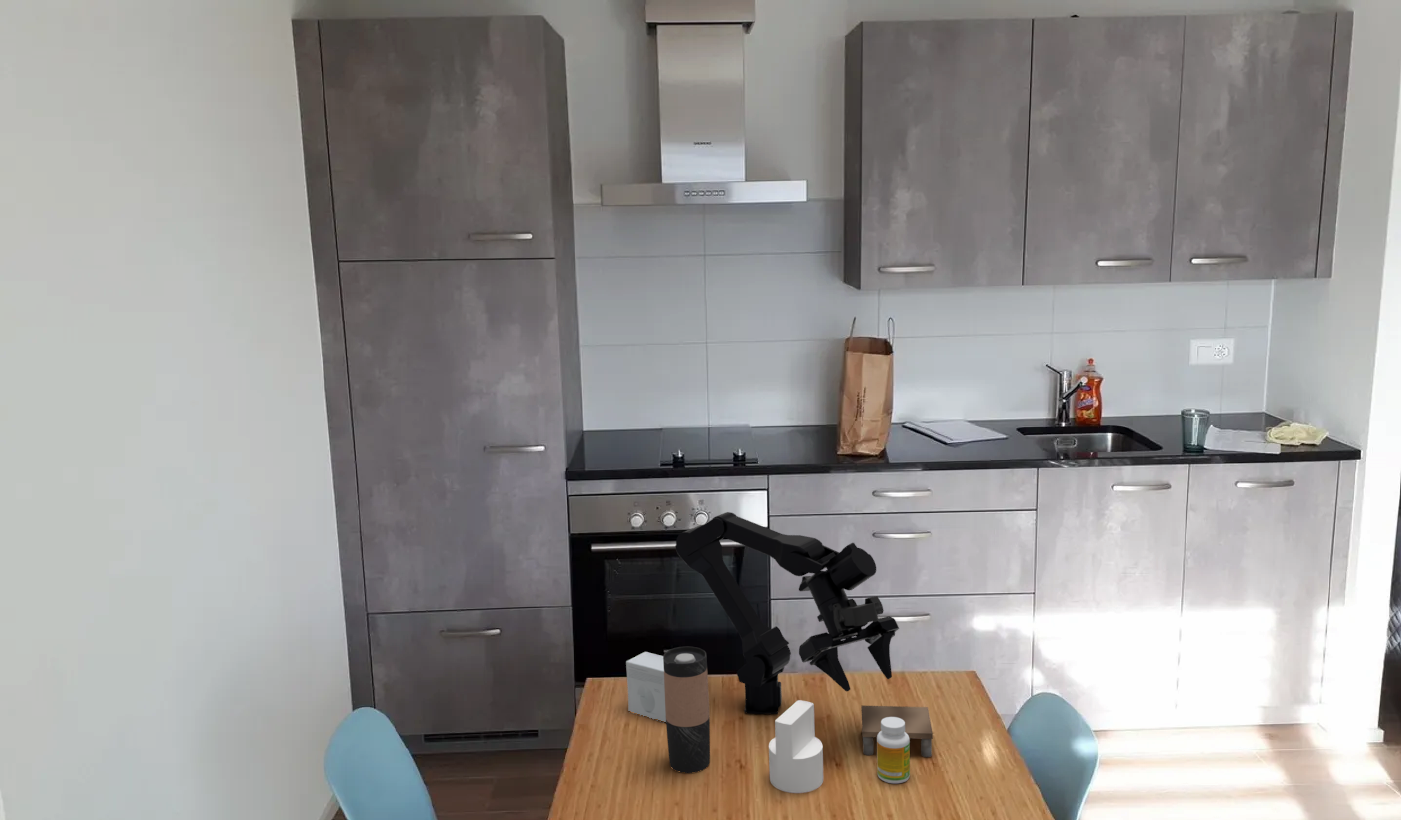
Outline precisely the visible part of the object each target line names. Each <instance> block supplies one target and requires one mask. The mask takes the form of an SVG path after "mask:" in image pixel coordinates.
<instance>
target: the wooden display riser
mask: <svg viewBox="0 0 1401 820" xmlns="http://www.w3.org/2000/svg"><path fill="white" fill-rule="evenodd" d="M886 717H897V718H900V719H902V720H904V722H905V732H906V733H907V734H908V736H909V739H920V752H921V753H920V755H921V756H922V757H923V758H930V757H932V756H933V753H932V748H933V747H932V746H933V745H932V744H933V743H932V741H933V739H934V737H933V736H934V735H933V734H934V733H933V727H932V722H931V717H930V710H929V707H928V706H900V705H899V706H898V705H897V706H896V705H895V706H893V705H861V730H862V731H861V732H862V751H863V752H862V753H863V755H864V756H873V755H874V738H877V735H878V733H879V732H880V731H881V720H882V719H884V718H886Z"/></svg>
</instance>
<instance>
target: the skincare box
mask: <svg viewBox="0 0 1401 820" xmlns="http://www.w3.org/2000/svg"><path fill="white" fill-rule="evenodd" d="M663 656H664V655H659V654H656V653H651V652H648V651H644V652H642V653H640V654H638V655H636V656H635V657H632V658H630V659H627V660H626V661H625V665H626V666H625V668H626V682H627V702H628V705H627V706H628V707H627V708H628V709H627V710H628V711H631V712H634V713H637V714H640V715H639V716H641V715H643V716H642V717H644V716H647V717H649V718H648V719H651V718H652V719H651V720H654V719H658V720H661V721H664V722H666V714H665V688H664V663H663ZM634 713H633V714H634ZM637 714H636V715H637ZM647 717H646V718H647ZM658 720H657V721H658ZM661 721H660V722H661ZM664 722H663V723H664Z"/></svg>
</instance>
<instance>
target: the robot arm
mask: <svg viewBox="0 0 1401 820" xmlns="http://www.w3.org/2000/svg"><path fill="white" fill-rule="evenodd" d="M724 538H725V539H728V540H730V541H732V542H735V543H737V544H740V545H742V546H745V547H746V548H749V549H752V550H754V551H757V552H759V553H761V554H764V555H766V556H769V557H770V558H772V559H774V560H775V562H776V563H777V564H778V566H779V567H780V568H782V569H784V570H785V571H787V572H788V573H790V574H792V575H793V576H796V577H801V582H800V584H799V586H798V591H799V592H810V594H811V596H812V598H813V601H814V602H815V605H816V608H817V610H818V612H819V614H818V616H816V618H817V620H818V622H819V623H820V622H823V624H824V625H825V628H826V630H827V631H826V632H823V633H819V634H818V633H817V634H815V635H811V636H809V637H808V638H807V639H806V640H805V641H804V642H803V643H801V644H800V646H799V648H798V655H799V657H800V659H801V662H802V663H806V662H807V663H808V662H809V665H810V666H815V667H817V668H818V669H819V670H821V671H822V672H824V673H825V674H826V675H827V676H828V677H829V678H831V679H832V680H833V681H834V682H835V683H836V684H837V685H839V687H841V689H843V690H844V691H845V692H849V691H850V690H851V685H850V683H849V680H848V678H847V676H846V673H845V671H844V668H843V667H842V664H841V662H840V660H839V653H838V652H839V651H838V650H839V649H838V648H839V647H842V646H846V645H849V644H850V645H851V644H852V643H857V642H860V641H865V643H867V644H869V645H868V646H867V647H866V648H867V650H868V652H869V653H870V655H871V657H872V658H873V660H874V662H875V664H876V665H877V666H878V667H879V669H880V671H881V673H882V674H883V676H884V677H885V678H886V679H887V680H890V679H891V678H892V677H893V674H892V666H891V665H892V663H891V656H890V652H891V651H890V649H891V648H890V644H891V641H892V639H893V637H895V635H896V632H897V631H899V630H900V626H899V625H898V623H897V620H896V619H895V618H894V617H892V616H891V615H889V616H884V617H881V618H879V617H878V616H879V615H882V614H883V613H884V611H885V610H884V606H883V603H882V601H881V600H880V598H879V596H878V595H877V596H870V597H867V598H865V599H864V603H863V604H857V602H856V600H855V599H854V598H850V599H849V597H848V595H847V593H846V591H852V590H854V589H855V588H857V587H858V586H860V585H862V584H863V583H864V582H866V581H867V580H869V579H871V577H873V576H874V575H876V573H877V564H876V562H875V560H874V557H873V556H872V555H871V553H868V552H867V551H866V550H865V549H863V548H860V547H858V546H857V545H856V543H855V542H851V543H849V544H847V545H846V546H844V547H843V548H842V550H841V551H836V550H835V549H832V548H831V547H828V546H826V545H824V544H823V543H822V541H820V539H817V538H816V537H810V536H805V535H801V534H798V535H797V534H796V535H795V534H784V533H780V532H778V531H776V530H773V529H771V528H768V527H766V526H763V525H760V524H759V523H755V522H753V521H750V520H748V519H746V518H743V517H741V516H737V515H736V514H735V513H733V512H730V511H727V512H724V513H720V514H718V515H716V516H713V518H711V520H709V521H707V522H706V523H704V524H700V525H697V526H694V527H693V528H690V529H688V530H685V531H682V532H680V533H679V534H678V536H677V537H676V539H675V551H676V553H677V555H678V556H679V557H680V558H681V559H682V560H683V562H684V563H685V565H686V566H687V567H689V568H690V569H692V570H693V571H695V572H697V573H698V574H700V575H701V576H702V577H703V578H704V579H703V580H705V582H706V583H707V585H708V587H709V588H710V590H711V591H712V593H713V595H714V596H715V598H716V599H717V602H718V603H719V604H720V606H721V608H722V609H723V611H724V612H725V614H726V616H727V617H728V619H729V620H730V621H731V624H732V625H733V627H734V628H735V630H736V632H737V633H738V635H739V636H740V639H741V648H742V655H743V657H744V660H745V661H746V662H745V663H744V664H743V665H742V666H741V667H740V668H739V669H738V670H737V671H736V675H737V678H738V681H739V683H741V684H744V695H745V696H744V698H745V700H744V702H745V705H744V710H743V711H744V714H746V715H747V714H754V715H755V714H756V715H778V714H779V710H780V709H779V708H781V707H782V700H783V697H782V682H781V681H779V674H781V673H783V672H784V669H785V667H786V666H788V664H789V663H790V660H791V654H792V653H791V649H790V647H789V644H790V642H789V641H788V640H787V639H786V638H785V637H784V635H783V633H782V632H781V629H780V628H779V627H778V626H777V625H776V626H774V627H772V628H770V627H769V626H767V625H765V624H764V623H763V622H762V620H761V619H760V617H759V616H758V614H757V612H756V611H755V610H754V607H753V606H752V604H751V603H750V601H749V600H748V599H747V597H746V595H745V593H744V592H743V590H742V589H741V587H740V586H739V584H738V582H737V581H736V579H735V578H734V576H733V575H732V573H731V572H730V570H729V568H728V567H727V566H726V564H725V562H724V553H723V547H722V546H723V545H722V543H721V540H723V539H724ZM824 569H826V570H824ZM807 574H812V575H807ZM863 627H865V628H863Z"/></svg>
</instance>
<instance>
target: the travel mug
mask: <svg viewBox="0 0 1401 820" xmlns="http://www.w3.org/2000/svg"><path fill="white" fill-rule="evenodd" d="M662 656H663V663H664V688H665V714H666V723H665V726H666V728H665V729H666V737H667V749H668V751H667V752H668V753H667V754H668V760H669V761H668V762H669V767H670V768H671V767H672V768H673V769H672V768H671V769H672V770H674V771H675V770H676V772H678V771H680V772H679V773H682V772H685V773H684V774H693V773H692V772H695V773H698V771H699V772H701V771H700V770H702V771H703V769H704V770H705V769H707V768H708V767H709V766H710V762H711V738H710V737H711V736H710V735H711V732H710V731H711V729H710V728H711V727H710V723H711V722H710V721H711V720H710V719H711V718H710V700H709V699H710V696H709V678H708V662H707V659H708V658H707V652H706V651H705V650H704V649H702V648H700V647H695V646H678V647H674V648H671V649H668V650H667V651H665V652H664V654H663V655H662ZM706 767H707V768H706Z"/></svg>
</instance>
